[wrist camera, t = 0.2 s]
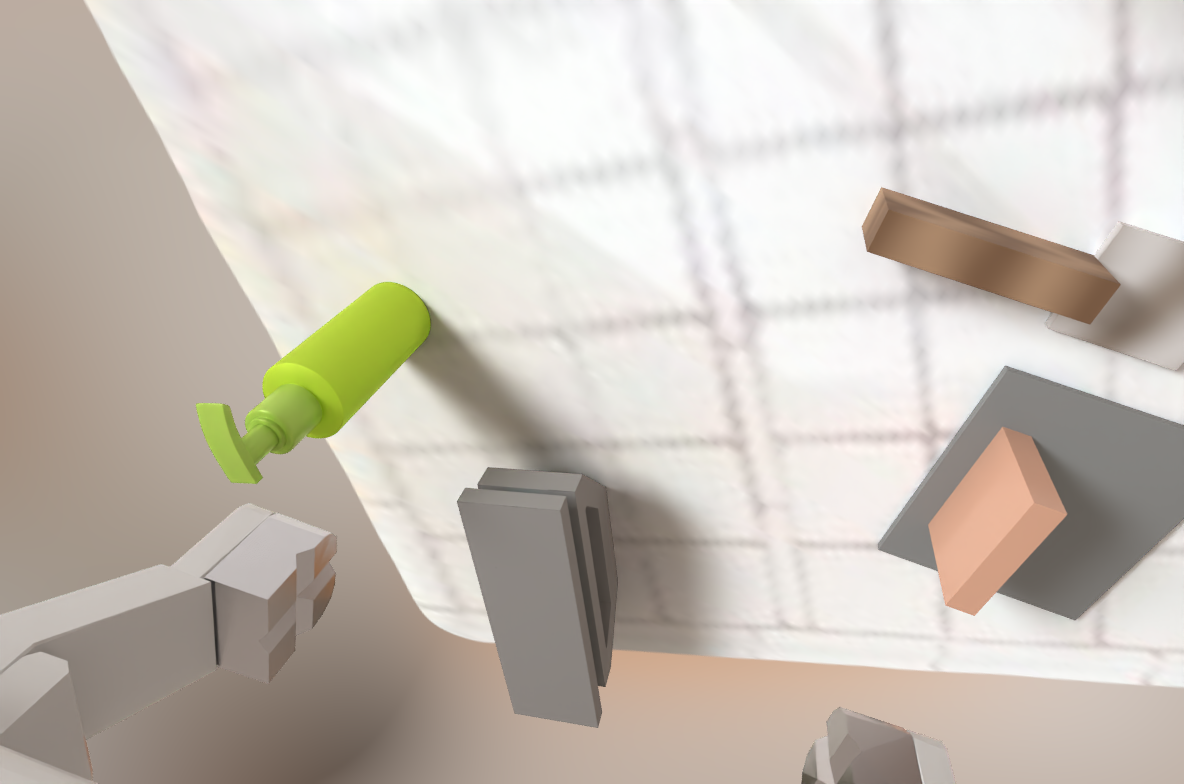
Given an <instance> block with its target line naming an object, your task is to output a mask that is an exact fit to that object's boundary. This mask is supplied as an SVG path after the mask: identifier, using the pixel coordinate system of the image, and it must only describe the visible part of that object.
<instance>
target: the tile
mask: <svg viewBox="0 0 1184 784" xmlns="http://www.w3.org/2000/svg"><path fill="white" fill-rule="evenodd" d="M1066 516H1067V512H1066V510H1065V508H1064V506H1063V504H1062V501H1061V499H1060V497H1059V495H1058V493H1057V491H1056V489H1055V486H1054V484H1053V482H1052V480H1051V478H1050V476H1049V473H1048V471H1047V469H1046V467H1045V465H1044V463H1043V461H1042V458H1041V456H1040V454H1039V452H1038V450H1037V448H1036V446H1035V443H1034V441H1033V439H1032V437H1031V436H1029V435H1026V434H1023V433H1020V432H1017V431H1014V430H1011V429H1008V428H1005V427H1002V428H1001V429H1000V431H999V432H998V433H997V435H996V436H995V437H994V438H993V440H992V441H991V442H990V444H989V445H988V446H987V448H986V449H985V450H984V452H983V453H982V454H981V456H980V457H979V458H978V460H977V461H976V462H975V464H974V465H973V466H972V467H971V469H970V470H969V471H968V473H967V474H966V475H965V477H964V478H963V479H962V481H961V482H960V483H959V485H958V486H957V487H956V489H955V490H954V491H953V493H952V494H951V495H950V497H949V498H948V499H947V500H946V502H945V503H944V504H943V506H942V507H941V508H940V510H939V511H938V512H937V514H936V515H935V516H934V518H933V519H932V520H931V522H930V523H929V524H928V527H929V531H930V536H931V541H932V545H933V550H934V555H935V559H936V564H937V568H938V573H939V578H940V582H941V587H942V592H943V596H944V601H945V605H946V606H949V607H952V608H954V609H957V610H960V611H963V612H965V613H968V614H971V615H974V616H975V615H976V614H977V612H978V611H979V610H980V609H981V608H982V607H983V606H984V605H985V604H986V603H987V602H988V601H989V599H990V598H991V597H992V596H993V595H994V594H995V593H996V592H997V591H998V590H999V589H1000V587H1001V586H1002V585H1003V584H1004V583H1005V582H1006V581H1007V580H1008V579H1009V578H1010V577H1011V575H1012V574H1013V573H1014V572H1015V571H1016V570H1017V569H1018V568H1019V567H1020V566H1021V565H1022V563H1023V562H1024V561H1025V560H1026V559H1027V558H1028V557H1029V556H1030V555H1031V554H1032V553H1033V551H1034V550H1035V549H1036V548H1037V547H1038V546H1039V545H1040V544H1041V543H1042V542H1043V541H1044V539H1045V538H1046V537H1047V536H1048V535H1049V534H1050V533H1051V532H1052V531H1053V530H1054V529H1055V528H1056V526H1057V525H1058V524H1059V523H1060V522H1061V521H1062V520H1063V519H1064V518H1065V517H1066Z"/></svg>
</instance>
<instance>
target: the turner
mask: <svg viewBox="0 0 1184 784" xmlns="http://www.w3.org/2000/svg"><path fill="white" fill-rule="evenodd" d="M862 230H863V234H864V239H865V244H866V249H867V252H870V253H873V254H876V255H879V256H882V257H885V258H888V259H891V260H894V261H897V262H900V263H904V264H907V265H910V266H913V267H916V268H919V269H922V270H925V271H928V272H931V273H934V274H937V275H940V276H943V277H946V278H949V279H952V280H955V281H958V282H961V283H964V284H967V285H971V286H974V287H977V288H980V289H983V290H986V291H989V292H992V293H995V294H998V295H1001V296H1004V297H1007V298H1010V299H1013V300H1016V301H1019V302H1022V303H1025V304H1028V305H1031V306H1034V307H1038V308H1041V309H1044V310H1047V311H1050V312H1053V313H1052V314H1051V315H1050V317H1049V318H1048V319H1047V321H1046V322H1045V325H1046V326H1047V328H1048V329H1051V330H1054V331H1057V332H1060V333H1063V334H1066V335H1069V336H1072V337H1075V338H1078V339H1081V340H1084V341H1087V342H1090V343H1093V344H1096V345H1099V346H1102V347H1105V348H1108V349H1111V350H1114V351H1117V352H1120V353H1123V354H1126V355H1129V356H1132V357H1135V358H1138V359H1141V360H1144V361H1147V362H1150V363H1154V364H1157V365H1160V366H1163V367H1166V368H1169V369H1172V370H1175V371H1176V370H1177V369H1178V368H1179V367H1180V366H1181V365H1182V364H1183V363H1184V242H1183V241H1180V240H1176V239H1173V238H1170V237H1167V236H1164V235H1161V234H1157V233H1154V232H1151V231H1148V230H1145V229H1142V228H1139V227H1135V226H1132V225H1129V224H1126V223H1123V222H1120V221H1118V223H1117V224H1116V225H1115V227H1114V228H1113V230H1112V231H1111V232H1110V234H1109V235H1108V236H1107V238H1106V239H1105V241H1104V242H1103V243H1102V245H1101V246H1100V248H1099V249H1098V250H1097V252H1096V253H1095V254H1094V255H1091V254H1088V253H1085V252H1081V251H1078V250H1075V249H1072V248H1069V247H1066V246H1063V245H1060V244H1057V243H1053V242H1050V241H1047V240H1044V239H1041V238H1038V237H1035V236H1032V235H1029V234H1025V233H1022V232H1019V231H1016V230H1013V229H1010V228H1007V227H1004V226H1001V225H997V224H994V223H991V222H988V221H985V220H982V219H979V218H976V217H973V216H969V215H966V214H963V213H960V212H957V211H954V210H951V209H948V208H944V207H941V206H938V205H935V204H932V203H929V202H926V201H923V200H920V199H916V198H913V197H910V196H907V195H904V194H901V193H898V192H895V191H892V190H888V189H885V188H882V187H881V189H880V191H879V193H878V195H877V197H876V199H875V201H874V203H873V205H872V207H871V209H870V211H869V213H868V215H867V217H866V219H865V221H864V223H863V225H862Z"/></svg>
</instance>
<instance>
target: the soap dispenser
mask: <svg viewBox="0 0 1184 784" xmlns="http://www.w3.org/2000/svg"><path fill="white" fill-rule="evenodd" d="M430 327H431V322H430V316H429V313H428V310H427V308H426V306H425V304H424V303H423V301H422V300H421V299H420V298H419V297H418V296H417V295H416V294H415V293H414V292H413V291H412V290H410V289H409V288H407V287H405V286H403V285H400V284H397V283H393V282H383V283H379V284H376V285H374V286H373V287H372V288H370V289H369V290H368V291H366V292H365V293H364V294H363V295H361V296H360V297H359V298H358V299H356V300H355V301H354V302H353V303H351V304H350V305H349V306H348V307H346V308H345V309H344V310H343V311H341V312H340V313H339V314H338V315H336V316H335V317H334V318H333V319H331V320H330V321H329V322H327V323H326V324H325V325H324V326H322V327H321V328H320V329H319V330H317V331H316V332H315V333H314V334H312V335H311V336H310V337H309V338H307V339H306V340H305V341H304V342H302V343H301V344H300V345H299V346H297V347H296V348H295V349H294V350H292V351H291V352H290V353H288V354H287V355H286V356H285V357H283V358H282V359H281V360H280V361H278V362H277V363H276V364H275V365H273V366H272V367H271V368H270V369H269V370H268V371H267V372H266V374H265V376H264V378H263V394H264V397H265V399H264V400H263V401H262V402H261V403H260V404H258V405H257V406H256V407H255V408H254V409H253V410H251V411H250V412H249V413H248V415H247V416H246V419H245V426H246V430H247V432H248V433H247V434H246V435H245V436H243V437H242V438H241V437H240V435H239V433H238V431H237V428H236V426H235V423H234V420H233V416H232V413H231V409H230V407H229V406H228V405H225V404H212V403H210V404H209V403H198V404H196V408H197V413H198V417H199V421H200V424H201V427H202V431H203V433H204V436H205V438H206V441H207V443H208V445H209V447H210V449H211V451H212V453H213V455H214V457H215V458H216V460H217V461H218V463H219V465H220V466H221V468H222V469H223V471H224V473H225V474H226V476H227V477H228V479H229V480H230V481H231V482H232V483H252V484H257V483H258V482H259V481H260V480H261V479H262V478H263V477H262V475H261V474H260V472H259V470H258V468H257V467H256V464H257V463H258V462H259V461H261V460H262V459H263V458H264V457H265V456H266V455H267V454H268V453H269V452H271V453H275V454H285V453H288V452H289V451H291V450H292V449H293V448H294V447H295V446H296V445H297V444H298V443H299V442H300V441H301V440H302V439H303V438H304V437H305V436H307V437H311V438H327V437H330V436H332V435H334V434H336V433H337V432H338V431H339V430H340V429H341V428H342V427H343V426H344V425H345V424H346V423H347V422H348V420H349V419H350V418H351V417H352V416H353V415H354V414H355V413H356V412H357V411H358V410H359V409H360V408H361V407H362V406H363V405H364V404H365V403H366V402H367V401H368V400H369V398H370V397H371V396H372V395H373V394H374V393H375V392H376V391H377V390H378V389H379V388H380V387H381V386H382V385H383V384H384V383H385V382H386V381H387V380H388V379H389V378H390V376H391V375H392V374H393V373H394V372H395V371H396V370H397V369H398V368H399V367H400V366H401V365H402V364H403V363H404V362H405V361H406V360H407V359H408V358H409V357H410V356H411V354H412V353H413V352H414V351H415V350H416V349H417V348H418V347H419V346H420V345H421V344H422V343H423V342H424V341H425V340H426V338H427V337H428V335H429V332H430Z"/></svg>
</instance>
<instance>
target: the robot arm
mask: <svg viewBox="0 0 1184 784" xmlns="http://www.w3.org/2000/svg"><path fill="white" fill-rule="evenodd" d="M336 552H337V537H336V536H335V535H334V534H332V533H330V532H327V531H325V530H322V529H319V528H317V527H314V526H311V525H309V524H306V523H303V522H301V521H298V520H295V519H293V518H290V517H287V516H285V515H282V514H279V513H275V512H272V511H269V510H267V509H264V508H262V507H259V506H256V505H253V504H251V503H249V504H246V505H243V506H240V507H238V508H237V509H236V510H235V511H234V512H232V513H231V514H230V515H229V516H228V517H227V518H226V519H224V520H223V521H222V522H221V523H220V524H219V525H218V526H216V527H215V528H214V529H213V530H212V531H211V532H210V533H208V535H206V536H205V537H204V538H203V539H202V540H200V541H199V542H198V543H197V544H196V545H195V546H194V547H192V548H191V549H190V550H189V551H188V552H187V553H185V554H184V555H183V556H182V557H181V558H180V559H179V560H178V561H176V562H175V563H174V564H173V565H172V566H170V567H169V566H166V565H163V564H160V565H157V566H154V567H150V568H148V569H144V570H141V571H138V572H134V573H131V574H128V575H125V576H122V577H119V578H115V579H113V580H109V581H106V582H103V583H100V584H96V585H93V586H90V587H87V588H84V589H81V590H78V591H74V592H71V593H68V594H65V595H62V596H58V597H56V598H52V599H49V600H46V601H43V602H39V603H36V604H33V605H30V606H27V607H24V608H21V609H17V610H14V611H11V612H8V613H4V614H1V615H0V784H98V783H95V782H93V781H92V780H93V779H92V778H93V769H92V764H91V760H90V756H89V751H88V747H87V743H86V740H87V739H89V738H91V737H93V736H95V735H97V734H99V733H101V732H102V731H104V730H106V729H108V728H110V727H112V726H113V725H115V724H117V723H119V722H121V721H123V720H125V719H127V718H129V717H130V716H132V715H134V714H136V713H138V712H140V711H142V710H143V709H145V708H147V707H149V706H151V705H153V704H155V703H156V702H158V701H160V700H162V699H163V698H166V697H168V696H170V695H171V694H173V693H175V692H177V691H179V690H181V689H183V688H185V687H186V686H188V685H190V684H192V683H194V682H196V681H197V680H199V679H201V678H203V677H205V676H207V675H209V674H211V673H212V672H214V671H216V670H217V667H219V668H222V669H225V670H228V671H231V672H234V673H237V674H240V675H243V676H246V677H249V678H252V679H255V680H258V681H261V682H264V683H267V684H269V683H270V682H271V681H272V679H273V678H274V677H275V676H276V674H277V673H278V672H279V671H280V669H281V668H282V667H283V665H284V664H285V663H286V662H287V660H288V659H289V658H290V656H291V655H292V654H293V653H294V652H295V642H296V636H297V635H299V634H301V633H304V632H306V631H308V630H311V629H312V628H313V627H314V626H315V624H316V623H317V622H318V620H319V619H320V618H321V616H322V615H323V613H324V611H325V609H326V607H327V605H328V603H329V601H330V599H331V597H332V593H333V589H334V586H335V576H336V575H335V574H336V573H335V571H334V569H333V567H332V566H331V564H330V562H329V561H330V560H331V558H332V557H333V556H334V555H335V554H336ZM827 735H828V736H825V737H822V738H819V739H817V740H815V742H814V743H813V745H812V747H811V749H810V750H809V752H808V754H807V757H806V761H805V765H804V768H803V772H802V783H801V784H956V781H955V777H954V773H953V769H952V766H951V762H950V758H949V754H948V751H947V748H946V746H945V745H944V744H943V742H942V741H940V740H937V739H934V738H931V737H928V736H925V735H922V734H919V733H916V732H913V731H910V730H905V729H904V728H902V727H899V726H896V725H893V724H890V723H887V722H884V721H881V720H878V719H875V718H872V717H869V716H865V715H863V714H859V713H856V712H853V711H851V710H847V709H844V708H841V707H839V708H837V709H836V710H834V711H833V712H832V714H831V715H830V717H829V719H828V720H827Z"/></svg>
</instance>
